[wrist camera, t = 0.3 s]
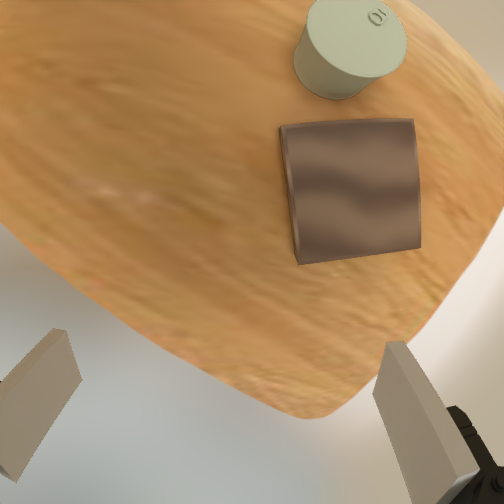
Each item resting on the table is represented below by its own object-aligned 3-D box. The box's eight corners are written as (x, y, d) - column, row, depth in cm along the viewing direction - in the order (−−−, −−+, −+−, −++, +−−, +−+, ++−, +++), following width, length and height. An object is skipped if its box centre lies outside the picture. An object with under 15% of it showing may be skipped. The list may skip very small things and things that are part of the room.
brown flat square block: (278, 129, 34) (280, 125, 30) (399, 121, 33) (413, 118, 29) (294, 254, 38) (298, 265, 34) (407, 239, 37) (421, 248, 33)
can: (382, 69, 31) (427, 40, 20) (335, 115, 33) (368, 98, 22) (327, 18, 29) (351, -29, 18) (276, 62, 32) (283, 22, 20)
